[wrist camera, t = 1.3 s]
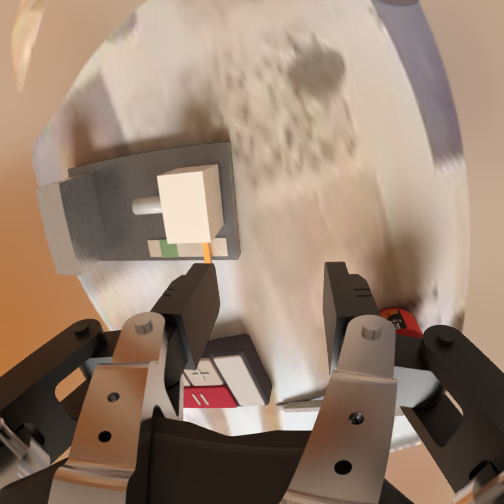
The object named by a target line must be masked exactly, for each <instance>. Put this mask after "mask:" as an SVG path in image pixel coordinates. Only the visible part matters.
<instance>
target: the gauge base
mask: <svg viewBox="0 0 504 504" xmlns="http://www.w3.org/2000/svg"><path fill="white" fill-rule="evenodd" d="M212 164H218V170H219V180H220V190H221V200H222V210H223V219H224V225H223V226H222V228H221V229H220V231H219V232H218V233H217V235H216V236H215V238H214V239H213V240H212V242H211V243H209V245H210V252H211V260H238V259H239V257H240V254H241V253H240V243H239V232H238V221H237V211H236V200H235V189H234V177H233V166H232V155H231V143H230V142H220V143H211V144H202V145H193V146H185V147H178V148H171V149H164V150H158V151H152V152H146V153H140V154H134V155H129V156H124V157H119V158H114V159H109V160H104V161H100V162H95V163H91V164H86V165H82V166H78V167H74V168H71V169H68V173H69V177H68V178H65V179H62V180H59V181H56V182H53V183H50V184H48V185H45V186H42V187H39V188H37V189H36V194H37V199H38V204H39V209H40V213H41V218H42V222H43V226H44V230H45V234H46V238H47V241H48V245H49V249H50V252H51V256H52V259H53V262H54V265H55V268H56V271H57V274H59V275H82V274H83V273H85V272H86V271H87V270H88V269H90V268H91V267H92V266H93V265H95V264H96V263H97V262H98V261H134V260H204V254H203V247H202V243H177V244H168V243H167V237H166V232H165V226H164V220H163V214H162V213H154V214H141V215H135V214H134V212H133V209H132V203H133V200H134V199H136V198H145V197H155V196H160V194H159V187H158V180H157V176H159V175H161V174H164V173H166V172H169V171H172V170H174V169H177V168H182V167H191V166H201V165H212Z"/></svg>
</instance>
